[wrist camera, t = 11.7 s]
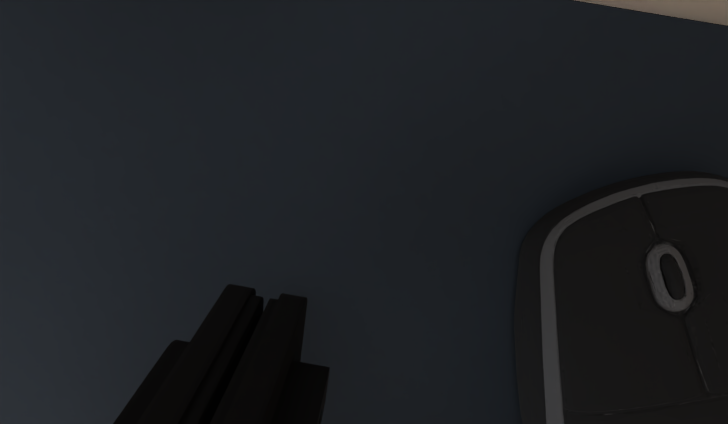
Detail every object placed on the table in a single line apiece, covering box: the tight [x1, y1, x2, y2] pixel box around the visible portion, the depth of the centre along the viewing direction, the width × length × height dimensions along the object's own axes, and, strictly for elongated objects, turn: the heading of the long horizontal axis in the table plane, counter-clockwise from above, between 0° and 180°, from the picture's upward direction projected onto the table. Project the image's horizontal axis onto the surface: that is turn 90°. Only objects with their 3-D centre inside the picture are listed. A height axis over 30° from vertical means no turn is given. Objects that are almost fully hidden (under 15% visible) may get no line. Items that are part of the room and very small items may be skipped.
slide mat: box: [0, 0, 728, 424], centre depth 13 cm, size 16×36×1 cm, turn 81°
